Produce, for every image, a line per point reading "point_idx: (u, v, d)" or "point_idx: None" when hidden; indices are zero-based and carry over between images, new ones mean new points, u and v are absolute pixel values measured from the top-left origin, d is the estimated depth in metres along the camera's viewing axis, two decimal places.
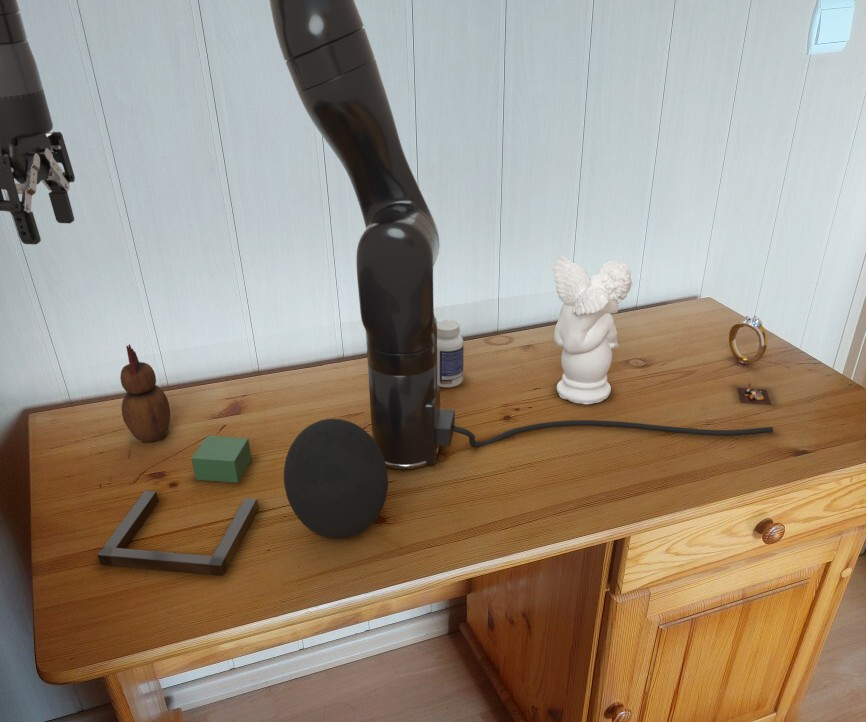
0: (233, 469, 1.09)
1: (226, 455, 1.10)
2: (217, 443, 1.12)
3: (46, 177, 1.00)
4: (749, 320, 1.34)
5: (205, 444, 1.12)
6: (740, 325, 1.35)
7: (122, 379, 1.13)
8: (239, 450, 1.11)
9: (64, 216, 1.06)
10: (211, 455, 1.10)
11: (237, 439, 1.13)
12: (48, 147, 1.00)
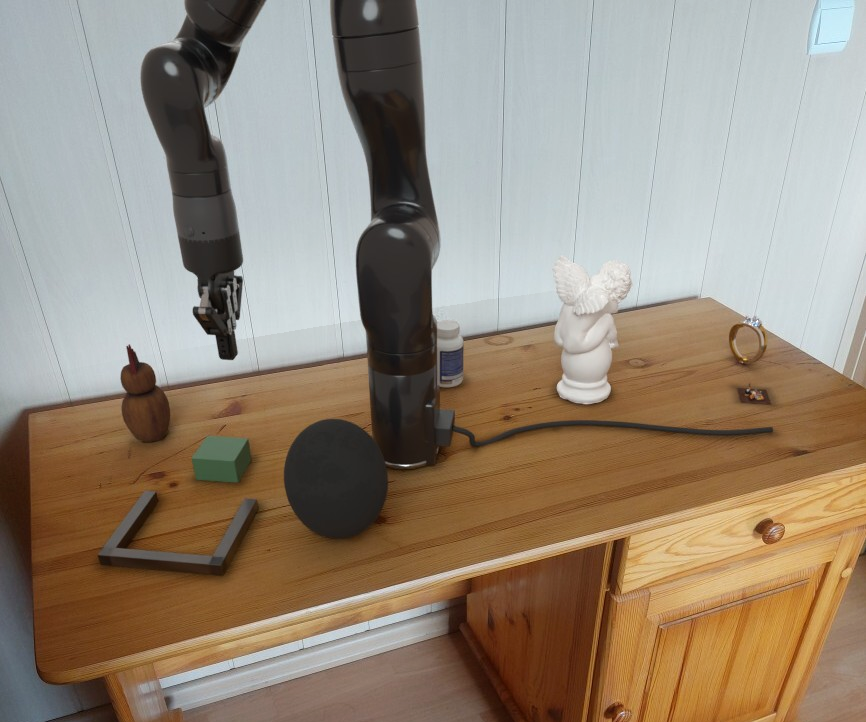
0: (233, 469, 1.09)
1: (226, 455, 1.10)
2: (217, 443, 1.12)
3: None
4: (749, 320, 1.34)
5: (205, 444, 1.12)
6: (740, 325, 1.35)
7: (122, 379, 1.13)
8: (239, 450, 1.11)
9: None
10: (211, 455, 1.10)
11: (237, 439, 1.13)
12: (233, 274, 1.08)
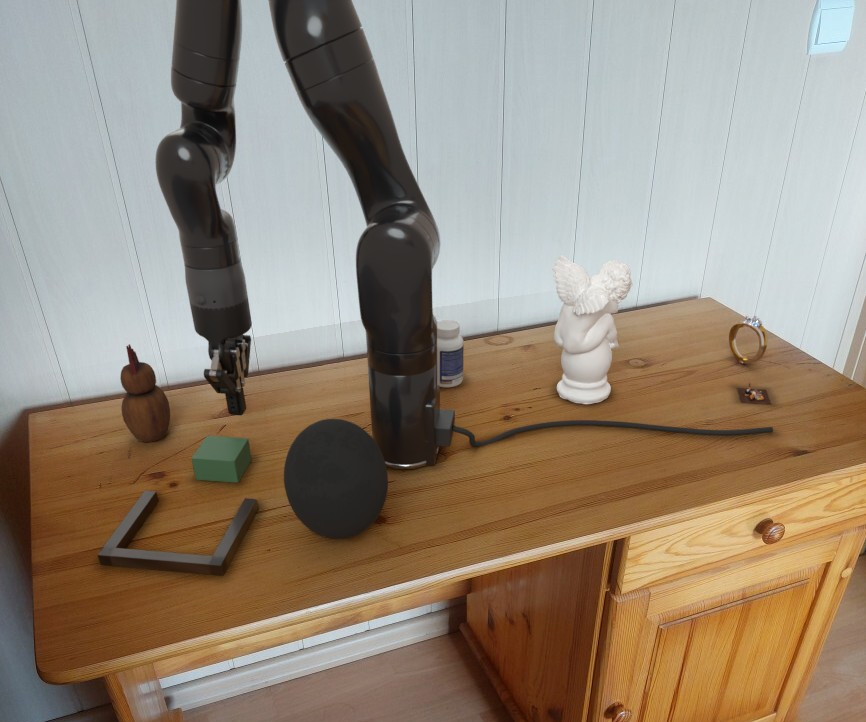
0: (233, 469, 1.09)
1: (226, 455, 1.10)
2: (217, 443, 1.12)
3: None
4: (749, 320, 1.34)
5: (205, 444, 1.12)
6: (740, 325, 1.35)
7: (122, 379, 1.13)
8: (239, 450, 1.11)
9: None
10: (211, 455, 1.10)
11: (237, 439, 1.13)
12: (241, 335, 1.13)
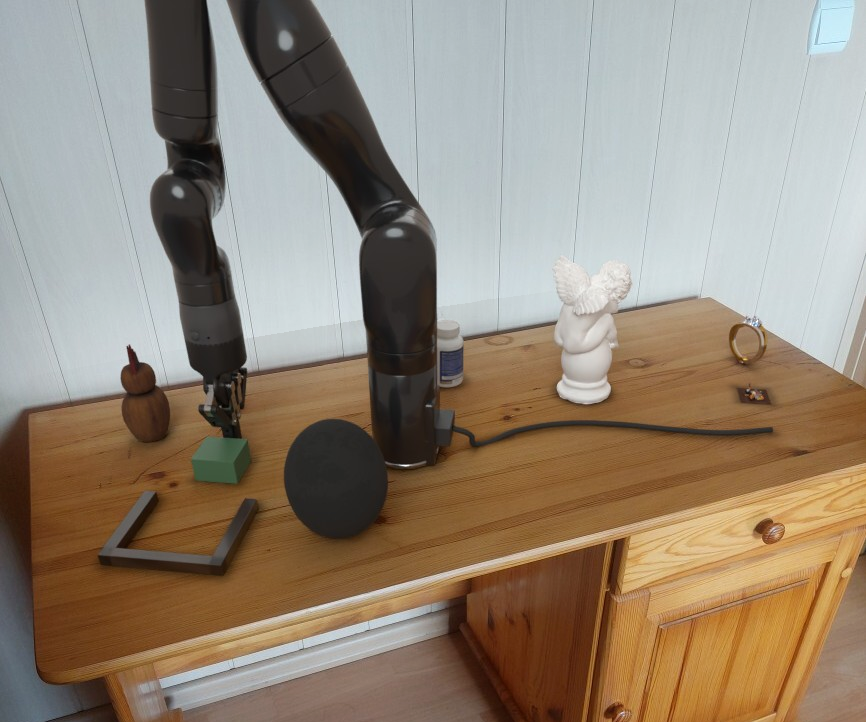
0: (232, 470, 1.09)
1: (225, 456, 1.10)
2: (217, 443, 1.12)
3: (235, 395, 1.13)
4: (749, 320, 1.34)
5: (204, 445, 1.12)
6: (740, 325, 1.35)
7: (122, 379, 1.13)
8: (238, 451, 1.10)
9: None
10: (210, 456, 1.10)
11: (237, 440, 1.13)
12: (237, 368, 1.12)
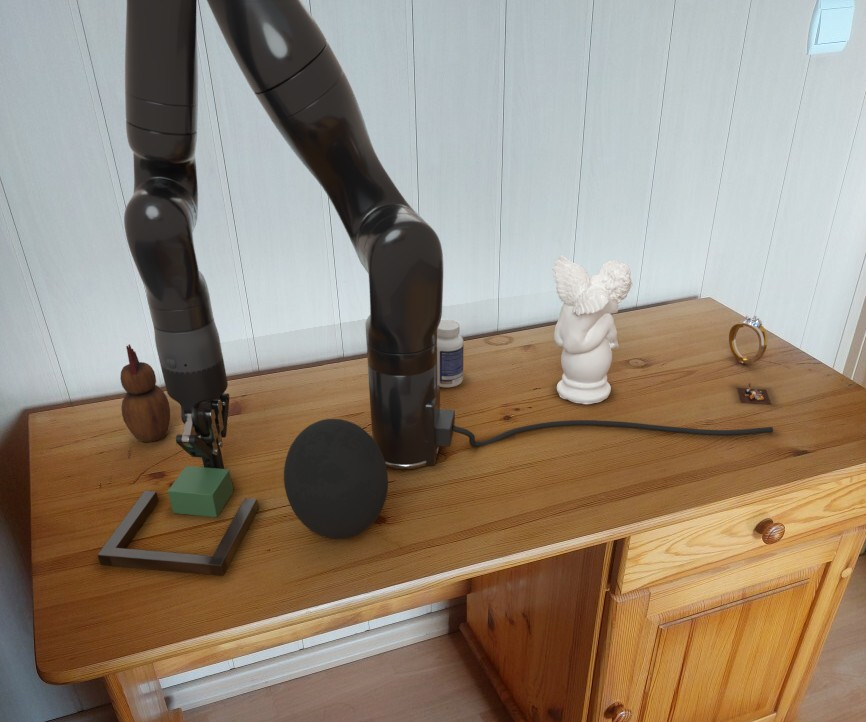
0: (211, 503, 1.03)
1: (204, 488, 1.04)
2: (196, 474, 1.06)
3: (216, 423, 1.07)
4: (749, 320, 1.34)
5: (183, 475, 1.06)
6: (740, 325, 1.35)
7: (122, 379, 1.13)
8: (218, 483, 1.04)
9: None
10: (188, 487, 1.04)
11: (217, 470, 1.07)
12: None
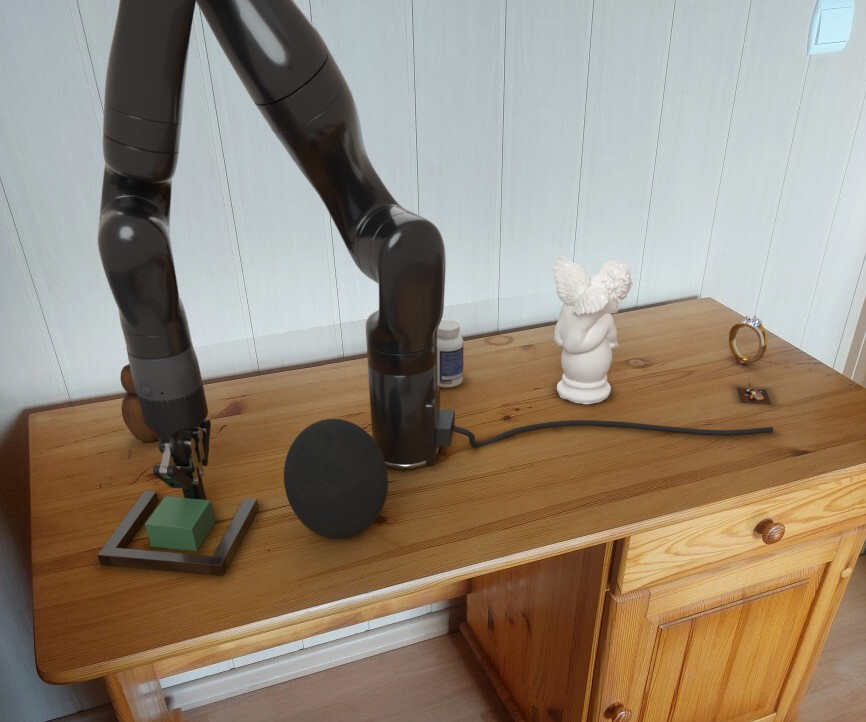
0: (191, 537, 0.98)
1: (183, 521, 0.98)
2: (176, 505, 1.01)
3: None
4: (749, 320, 1.34)
5: (162, 507, 1.00)
6: (740, 325, 1.35)
7: (122, 379, 1.13)
8: (198, 515, 0.99)
9: None
10: (167, 520, 0.98)
11: (198, 501, 1.01)
12: None
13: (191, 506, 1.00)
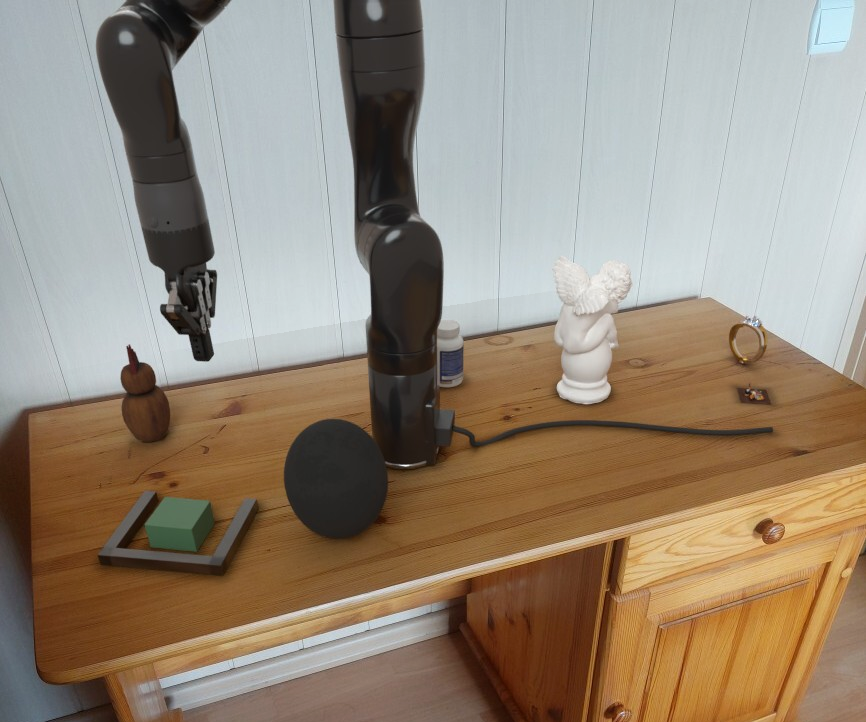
0: (190, 538, 0.98)
1: (183, 522, 0.98)
2: (176, 506, 1.01)
3: None
4: (749, 320, 1.34)
5: (161, 507, 1.00)
6: (740, 325, 1.35)
7: (122, 379, 1.13)
8: (198, 516, 0.99)
9: None
10: (167, 521, 0.98)
11: (198, 502, 1.01)
12: (205, 268, 0.99)
13: (191, 506, 1.00)
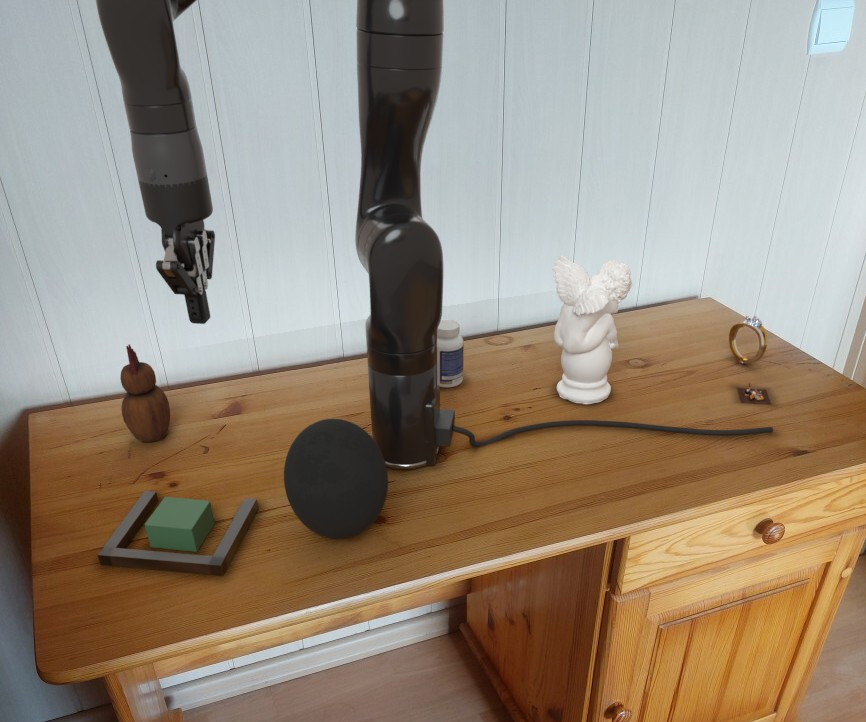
0: (190, 538, 0.98)
1: (183, 522, 0.98)
2: (176, 506, 1.01)
3: None
4: (749, 320, 1.34)
5: (161, 507, 1.00)
6: (740, 325, 1.35)
7: (122, 379, 1.13)
8: (198, 516, 0.99)
9: None
10: (167, 521, 0.98)
11: (198, 502, 1.01)
12: (202, 228, 0.98)
13: (191, 506, 1.00)
